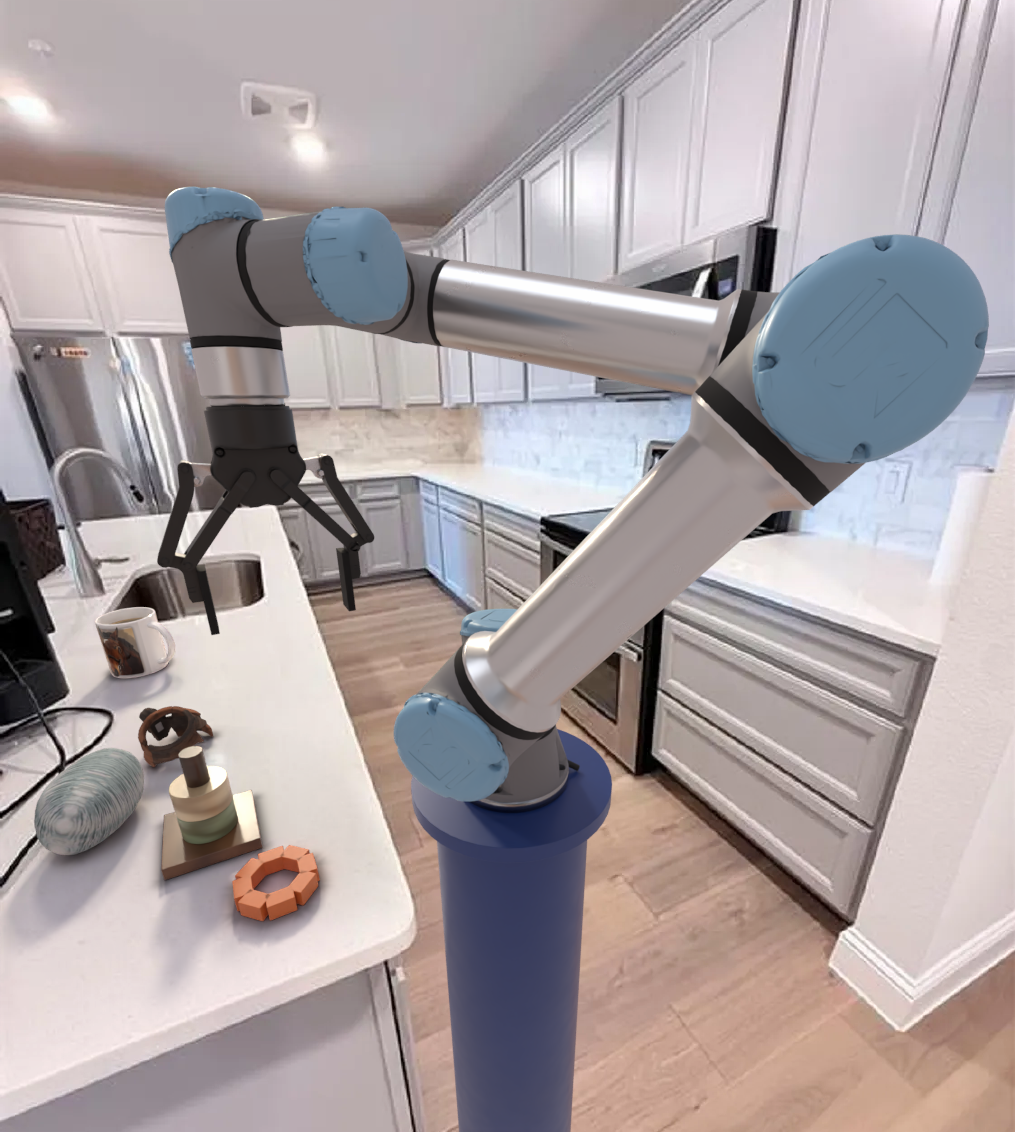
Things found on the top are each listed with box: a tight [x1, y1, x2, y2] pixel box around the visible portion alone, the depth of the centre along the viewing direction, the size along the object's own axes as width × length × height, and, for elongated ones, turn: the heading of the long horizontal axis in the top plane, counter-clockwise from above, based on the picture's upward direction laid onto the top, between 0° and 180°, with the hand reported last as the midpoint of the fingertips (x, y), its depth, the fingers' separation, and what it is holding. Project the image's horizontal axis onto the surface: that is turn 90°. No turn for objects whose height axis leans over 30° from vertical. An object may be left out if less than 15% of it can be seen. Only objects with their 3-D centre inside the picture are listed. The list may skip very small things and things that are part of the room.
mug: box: [94, 606, 176, 679], centre depth 107 cm, size 10×12×11 cm
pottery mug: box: [137, 705, 214, 768], centre depth 82 cm, size 12×10×8 cm
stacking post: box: [160, 745, 263, 881], centre depth 64 cm, size 10×10×12 cm
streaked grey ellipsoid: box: [33, 747, 145, 856], centre depth 67 cm, size 14×10×10 cm
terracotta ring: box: [231, 844, 321, 922], centre depth 59 cm, size 8×8×2 cm
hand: (285, 618), depth 59 cm, fingers open, 13 cm apart
